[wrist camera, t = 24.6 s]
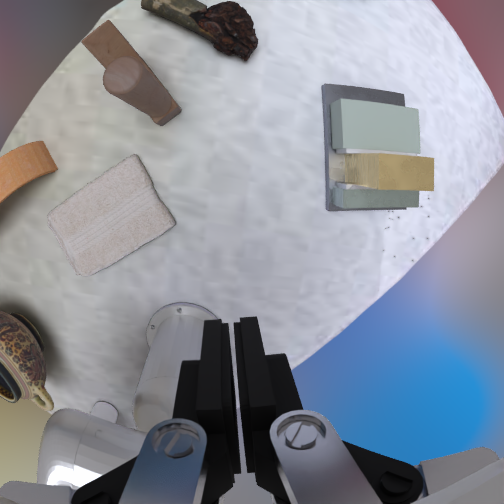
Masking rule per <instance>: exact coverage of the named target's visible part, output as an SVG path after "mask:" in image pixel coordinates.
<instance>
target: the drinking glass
mask: <svg viewBox="0 0 504 504" xmlns="http://www.w3.org/2000/svg"><path fill="white" fill-rule="evenodd" d="M90 414H91V415H93V416H96V417H99V418H102V419H104V420H107V421H110V422H113V423H116V420H117V417H118V412H117V410H116V409H115V408H114V407H113V406H112V405H111V404H109V403H106V402H97V403H96V404H95V405H94V407H93V409H92V411H91V413H90Z"/></svg>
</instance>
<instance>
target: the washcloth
mask: <svg viewBox="0 0 504 504" xmlns="http://www.w3.org/2000/svg"><path fill="white" fill-rule="evenodd" d="M175 224H176V223H175V222H174V219H173V217H172V216H171V214H170V212H169V211H168V210H167V208H166V206H165V205H164V204H163V203H162V201H160V199H159V198H158V195H157V193H156V191H155V189H154V188H153V185H152V181H151V179H150V177H149V175H148V174H147V171H146V170H145V168H144V166H143V165H142V163H141V161H140V159H139V158H138V156H137V155H136V154H133V155H131V156H130V157H127V158H126V159H125V160H123V161H122V162H120V163H118V164H117V165H116V166H115V167H112V168H110V169H109V170H108V171H106V172H104V173H103V174H102V175H101V176H100V177H98V178H96V179H95V180H94V181H92V182H90V183H87V185H86V186H85V187H84V188H82V189H80V191H77V192H76V193H75V194H74V195H73V196H71V197H70V198H68V199H66V201H64V202H63V203H61V204H60V205H59V206H57V207H55V209H54V210H52V211H51V212H49V214H48V227H49V228H50V229H51V230H52V231H53V233H54V234H55V236H56V238H57V240H58V242H59V244H60V246H61V247H62V249H63V251H64V253H65V255H66V257H67V259H68V261H69V262H70V264H71V266H72V267H73V269H74V271H75V273H76V275H81V276H90V275H93V274H95V273H96V272H98V271H100V270H102V269H104V268H107V267H109V266H110V265H112V264H114V263H115V262H117V261H118V260H120V259H121V258H123V257H125V256H126V255H128V254H130V253H131V252H134V251H135V250H136V249H138V248H139V247H141V246H142V245H144V244H146V243H147V242H149V241H151V240H153V239H155V238H156V237H158V236H160V235H161V234H163V233H164V232H166V231H167V230H168V229H169V228H171V227H173V226H174V225H175Z"/></svg>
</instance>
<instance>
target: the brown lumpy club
mask: <svg viewBox="0 0 504 504" xmlns="http://www.w3.org/2000/svg"><path fill="white" fill-rule="evenodd" d="M141 6H142V7H141V8H142V9H144V10H147V11H150V12H152V13H155V14H157V15H160V16H162V17H164V18H167V19H169V20H171V21H174V22H176V23H178V24H180V25H182V26H184V27H186V28H188V29H190V30H192V31H194V32H196V33H198V34H200V35H201V36H203V37H205V38H207V39H209V40H210V41H211V42H212V43H213V44H214V45H213V46H214V48H216V49H217V50H219V51H221V52H225V53H226V54H227V55H232V54H235V55H240V56H241V58H242V59H243V60H245V61H247V60H248V58H249V57H250V54H251V53H252V52H253V50H254V49H255V48H256V47H257V44H258V39H257V37H256V34H255V29H253V25H254V23H253V21H252V19H251V16H249V14H248V13H247V11H246V10H245V9H244V8H243V7H240V5H239V4H238V3H235V2H232V1H227V2H222V3H219V4H217V5H213V6H211V7H209V8H208V9H207V6H206V5H204V4H203V3H201V2H199V1H197V0H142V1H141Z"/></svg>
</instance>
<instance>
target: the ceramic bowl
mask: <svg viewBox="0 0 504 504" xmlns="http://www.w3.org/2000/svg"><path fill="white" fill-rule="evenodd" d="M43 351H44V343H43V340H42V339H41V336H40V335H39V333H38V331H37V330H36V328H35V327H34V326H33V325H32V324H31V323H30V322H29V321H28V320H27V319H26V318H25V317H24V316H22V315H20V314H18V313H11V314H7V313H5V312H3V311H0V397H2V398H3V399H5V400H6V401H8V402H11V403H16V402H17V401H18V400H19V398H22V399H30V400H31V401H33V402H34V403H35V404H36V405H38V406H39V407H40V408H42V409H43V410H46V411H51V410H53V408H54V403H53V400H52V398H51V396H50V395H49V394H48V393H47V391H46V389H45V387H44V385H45V381H46V365H45V360H44V357H43V354H42V352H43ZM40 397H41V398H42V399H43V400H44V401H43V400H42V399H41V398H40Z"/></svg>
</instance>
